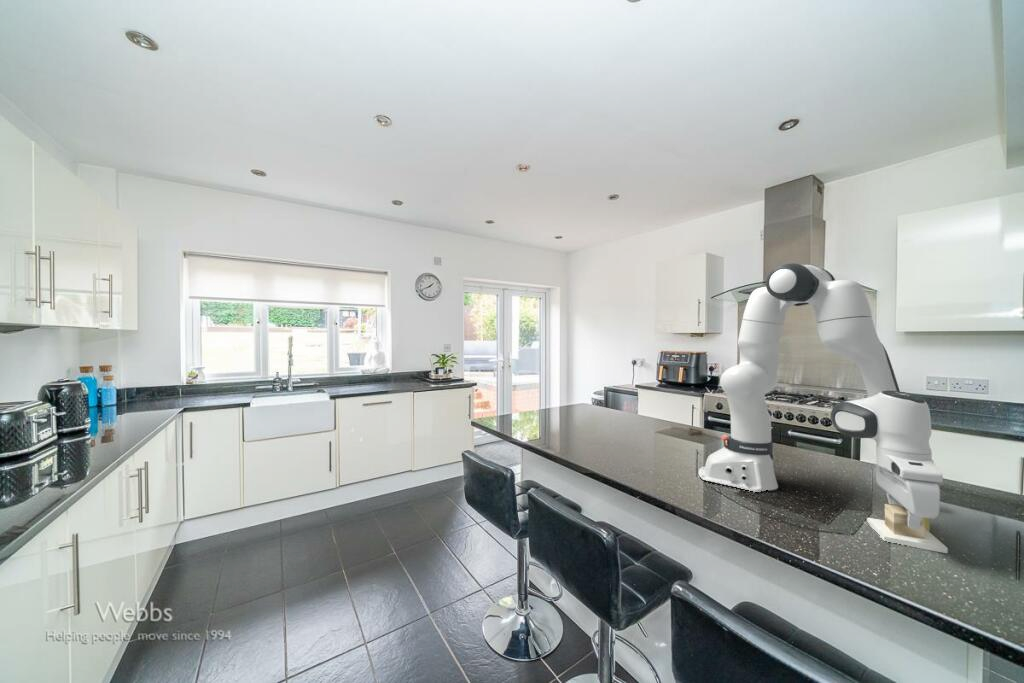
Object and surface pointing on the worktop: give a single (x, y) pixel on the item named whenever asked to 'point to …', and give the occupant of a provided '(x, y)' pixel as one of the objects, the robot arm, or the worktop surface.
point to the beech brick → (902, 522)
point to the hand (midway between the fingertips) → (903, 519)
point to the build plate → (889, 536)
